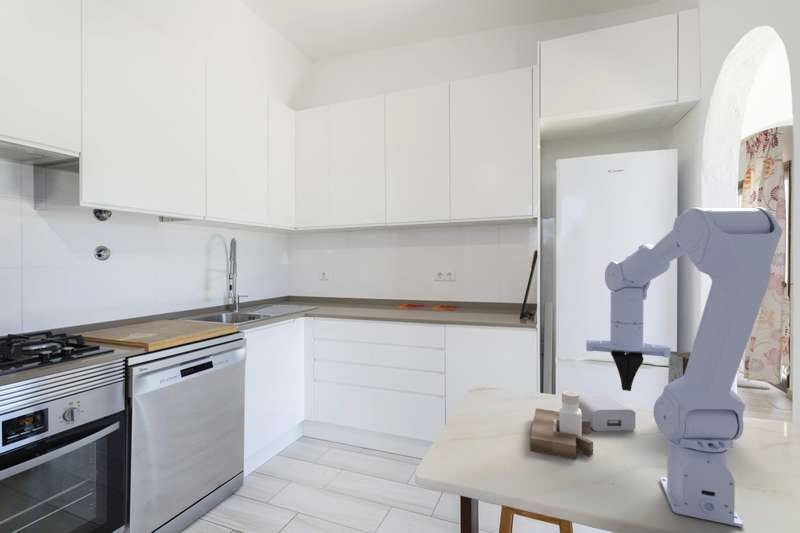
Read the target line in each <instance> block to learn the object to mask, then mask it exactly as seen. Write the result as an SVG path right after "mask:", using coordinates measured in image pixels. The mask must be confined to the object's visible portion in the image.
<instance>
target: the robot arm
mask: <svg viewBox="0 0 800 533" xmlns="http://www.w3.org/2000/svg"><path fill="white" fill-rule="evenodd" d="M782 234H783V229H782V227H781V226H780V224H779V223H778V221H777V219H776V217H775V216H774V215H773V213H772V212H771V211H769V210H768V209H767V208H765V207H761V206H753V207H747V208H745V207H744V208H741V207H740V208H739V207H736V208H733V207H732V208H730V207H728V208H727V207H725V208H719V207H718V208H702V207H697V206H696V207H690V208H687V209H686V210H684V211H683V212H682V213H681V214H680V215H678V216H676V217H675V219H674V222H673V226H672V230H670V231H669V232H667V234H666V235H664V236H663V237H662V238H661V239H660V240H659V241H658V242H657V243H656V244H640V245H639V247H638V249H636V251H635V252H633V253H632V254H631V255H629V256H627V257H626V258H625V259H624V260H622V261H621V262H617V261H610V262H609V263H608V265H606V268H605V271H604V281H605V285H606V288H607V289H608V290H609V291H610V334H609V336H610V339H609V340H589V339H588V340H587V339H586V343H585V344H586V345H585V346H586V348H585V349H586V351H587V352H602V353H610V355H611V357H612V359H613V361H614V363H615V365H616V368H617V369H616V370H617V371H618V375H619V378H620V383H621V388H622V389H621V390H622V391H627V392H631V391H632V386H633V382H634V380H635V377H636V375H637V372H638V370H639V369H640V367H641V365H642V364H643V363H644V356H653V357H654V356H655V357H662V358H663V357H664V358H668V359H669V358H670V355H671V349H672V348H671V346H669V345H661V344H654V343H653V344H652V343H645V342H644V301H645V300H646V299H647V297H648V289H649V287H650V285H651V281H652V280H655V279H657V277H659V276H661V275H663V274H664V273H666V272H667V271H668V270H669V269H670V266H671V261H674V260H676V259H678V258H680V257H682V256H684V255H686V256H687V258H688V259H689V260H690V262H692V263H693V265H694V266H695V267H696V269H697V271H699V272H701V273H702V274H706V275H708V276H709V278H710V279H711V285H710V287H709V293H708V295H707V299H706V302H705V306H704V308H703V311H702V316H701V319H700V322H699V324H698V329H697V331H696V334H695V337H694V341H693V345H692V348H691V351H690V352H691V354H690V357H689V361H688V364H687V367H686V371H685V374H684V376H682V377H681V378H679V379H677V380H675V381H673V382H671V383H669V384H668V383H667V384H666V385H664V387H663V392H662V394H661V395H659V396H658V397H657V399H656V401H655V403H654V406H653V417H654V418H653V419H654V421H655V425H656V426H657V428H658V430H659V432H661V433H662V435H663V436H664V437H665V438H667V447H666V448H667V457H666V458H667V462H666V463H667V464H666V467H667V468H666V470H667V471H666V473H667V474H666V476H667V477H664V476H660V477H659V482H660V484H661V486H662V488H663V491H664V494H665V495H666V498H667V500H668V502H669V504H670V507H671V509H672V511H673V512H674V513H675V514H678V515H681V516H687V517H692V518H697V519H701V520H706V521H711V522H717V523H721V524H724V525H730V526H735V527H740V528H742V527H744V523H743V521H742V520H741V518H740V516H739V515H738V514H737V512H736V511H735V497H736V496H735V492H736V491H735V487H736V485H735V484H736V483H735V482H736V481H735V478H734V476H733V473H732V472H731V470H730V469H729V467H728V449H732V448H733V446H734V445H733V442H734V441H737V440H739V439H740V438H741V437H742V435H743V432H744V419H743V418H744V411H745V408H746V404H745V402H744V401H743V400H742V399H741V397H740V396H739V395H738V394H737V393H736V391H734V390H733V389H732V387H733V384H734V381H735V378H736V375H737V373H738V370H739V368H740V365H741V362H742V359H743V357H744V354H745V352H746V349H747V345H748V342H749V339H750V338H751V334H752V332H753V328H754V326H755V323H756V321H757V317H758V315H759V312H760V309H761V306H762V304H763V301H764V298H765V295H766V293H767V290H768V287H769V285H770V281H771V270H772V262H773V259H774V256H775V254H776V251H777V248H778V245H779V243H780V239H781V238H782Z"/></svg>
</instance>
